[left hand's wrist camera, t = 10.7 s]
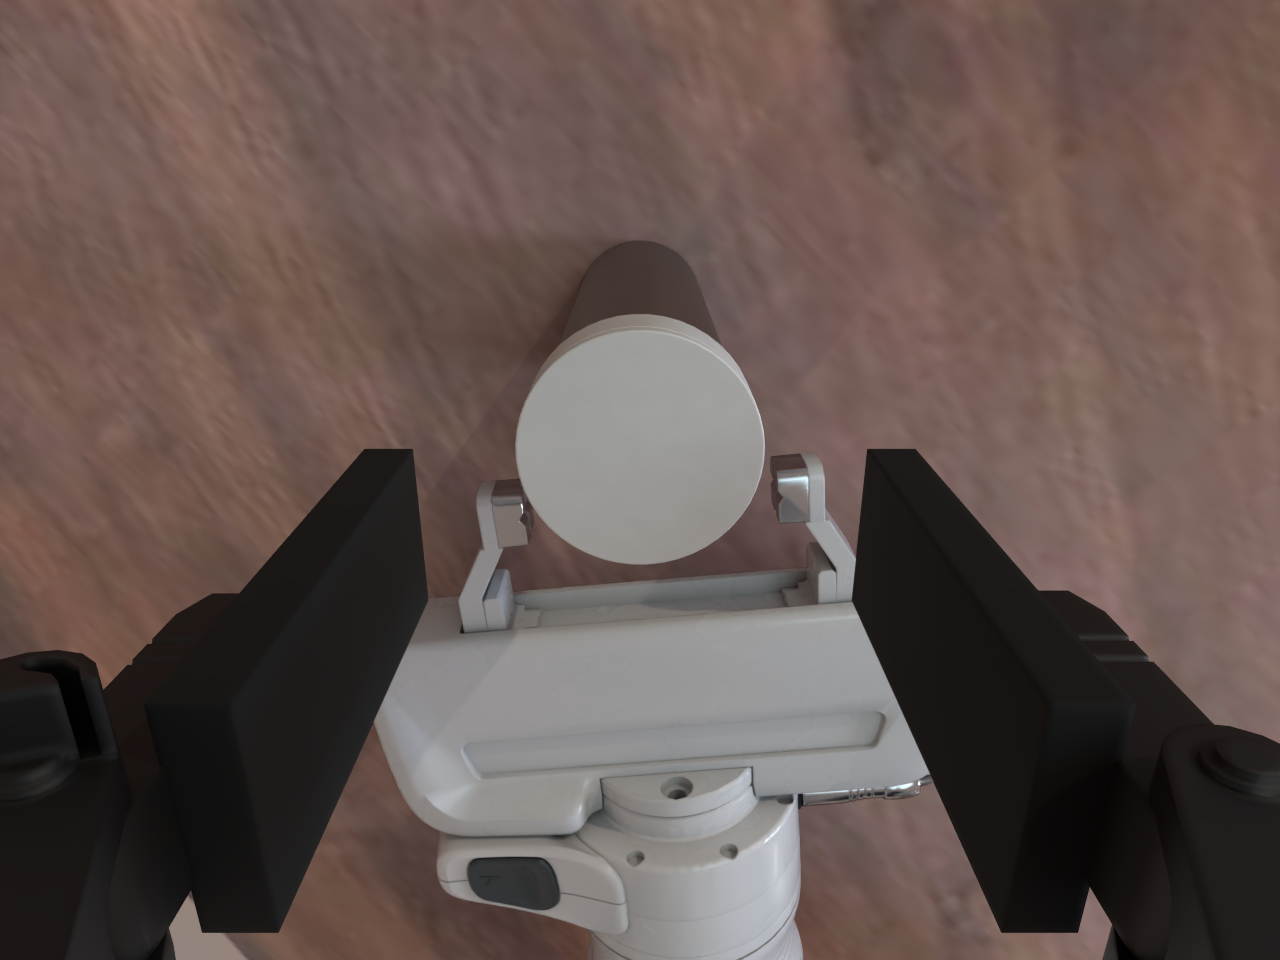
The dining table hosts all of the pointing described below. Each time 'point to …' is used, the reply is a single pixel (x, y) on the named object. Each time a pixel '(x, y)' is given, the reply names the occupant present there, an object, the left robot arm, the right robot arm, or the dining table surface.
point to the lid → (639, 440)
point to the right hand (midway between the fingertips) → (647, 472)
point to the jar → (639, 288)
